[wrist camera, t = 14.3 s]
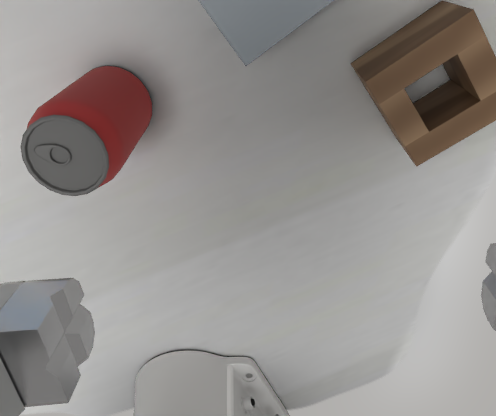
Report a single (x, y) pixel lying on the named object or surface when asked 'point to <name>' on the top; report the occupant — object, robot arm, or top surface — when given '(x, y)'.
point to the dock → (259, 22)
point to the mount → (422, 62)
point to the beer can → (86, 131)
